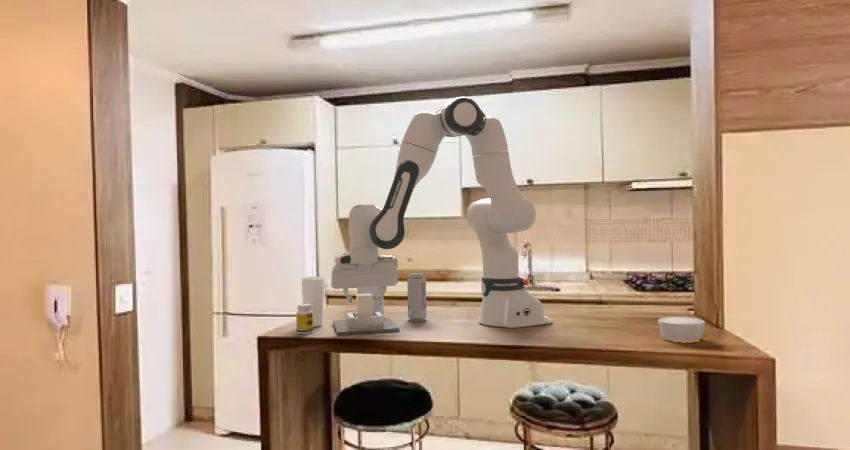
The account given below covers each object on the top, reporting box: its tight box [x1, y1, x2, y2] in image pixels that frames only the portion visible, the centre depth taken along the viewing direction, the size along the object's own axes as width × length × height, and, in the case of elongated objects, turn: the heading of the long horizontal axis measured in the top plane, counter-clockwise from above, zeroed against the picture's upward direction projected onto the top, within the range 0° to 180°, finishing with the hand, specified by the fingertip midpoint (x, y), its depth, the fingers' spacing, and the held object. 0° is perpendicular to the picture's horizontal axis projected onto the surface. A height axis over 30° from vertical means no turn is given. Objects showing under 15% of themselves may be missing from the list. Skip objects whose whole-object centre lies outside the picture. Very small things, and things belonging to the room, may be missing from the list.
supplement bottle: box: [295, 303, 314, 335], centre depth 166 cm, size 5×5×8 cm
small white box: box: [355, 293, 373, 317], centre depth 172 cm, size 4×4×9 cm
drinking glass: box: [301, 276, 325, 328], centre depth 176 cm, size 7×7×15 cm
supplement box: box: [356, 287, 384, 316], centre depth 188 cm, size 7×7×13 cm
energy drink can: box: [406, 272, 427, 322], centre depth 183 cm, size 6×6×15 cm
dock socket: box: [332, 311, 401, 336], centre depth 172 cm, size 18×18×4 cm
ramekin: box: [657, 316, 706, 340], centre depth 149 cm, size 11×11×5 cm
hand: (365, 302), depth 172 cm, fingers open, 8 cm apart
